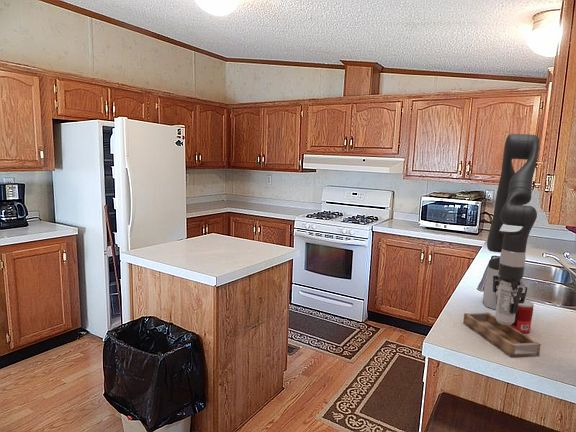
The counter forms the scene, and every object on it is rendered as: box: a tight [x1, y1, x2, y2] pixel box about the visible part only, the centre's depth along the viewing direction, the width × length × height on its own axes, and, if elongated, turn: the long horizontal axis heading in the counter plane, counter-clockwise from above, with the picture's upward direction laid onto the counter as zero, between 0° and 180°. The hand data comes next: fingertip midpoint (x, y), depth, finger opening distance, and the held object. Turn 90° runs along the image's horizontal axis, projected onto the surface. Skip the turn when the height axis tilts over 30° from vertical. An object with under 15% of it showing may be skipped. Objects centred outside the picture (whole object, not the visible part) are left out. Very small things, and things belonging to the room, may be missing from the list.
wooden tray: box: [462, 312, 542, 358], centre depth 142 cm, size 26×10×4 cm, turn 10°
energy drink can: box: [494, 279, 517, 325], centre depth 138 cm, size 6×6×15 cm
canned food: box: [510, 298, 535, 335], centre depth 149 cm, size 8×8×11 cm
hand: (505, 309), depth 139 cm, fingers closed on energy drink can, 6 cm apart
